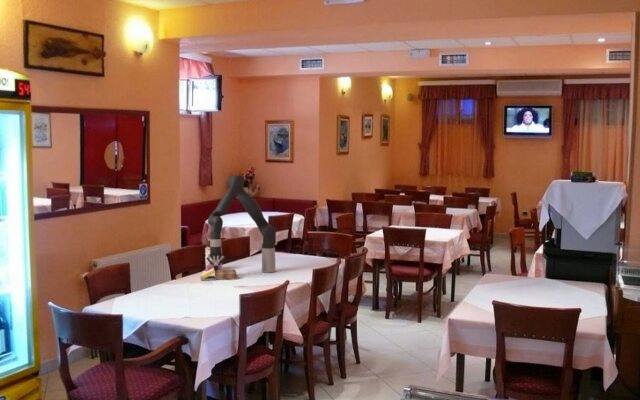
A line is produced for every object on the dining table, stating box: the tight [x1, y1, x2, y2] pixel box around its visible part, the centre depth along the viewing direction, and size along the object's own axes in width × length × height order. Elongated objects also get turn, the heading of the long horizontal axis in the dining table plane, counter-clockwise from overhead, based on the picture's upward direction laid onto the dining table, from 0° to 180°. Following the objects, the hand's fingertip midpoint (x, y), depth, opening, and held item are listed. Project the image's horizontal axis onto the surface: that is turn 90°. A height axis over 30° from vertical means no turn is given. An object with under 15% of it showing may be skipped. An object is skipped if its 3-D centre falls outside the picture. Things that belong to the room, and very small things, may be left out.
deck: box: [214, 269, 238, 281], centre depth 425 cm, size 14×13×4 cm
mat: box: [200, 275, 216, 282], centre depth 423 cm, size 9×14×1 cm, turn 12°
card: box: [201, 268, 215, 279], centre depth 424 cm, size 9×6×2 cm, turn 101°
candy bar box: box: [204, 246, 223, 272], centre depth 449 cm, size 11×5×16 cm, turn 84°
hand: (216, 270), depth 424 cm, fingers closed
